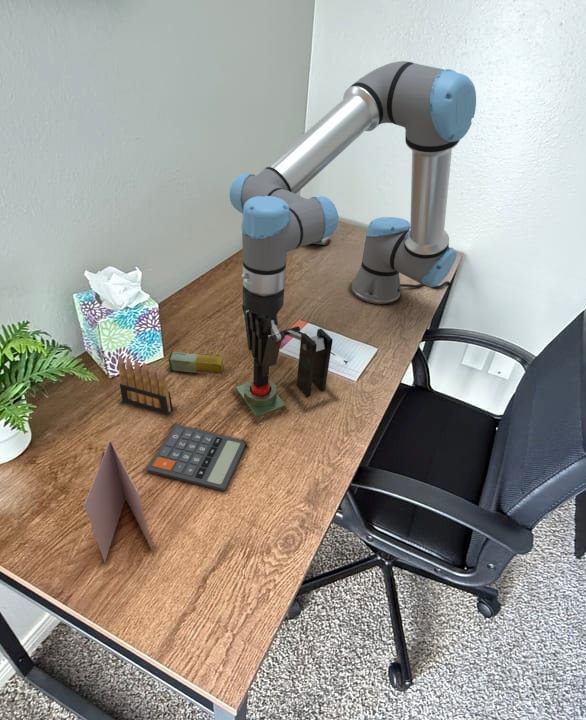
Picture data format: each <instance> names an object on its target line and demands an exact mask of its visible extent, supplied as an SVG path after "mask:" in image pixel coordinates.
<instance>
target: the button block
mask: <svg viewBox="0 0 586 720" xmlns="http://www.w3.org/2000/svg"><path fill="white" fill-rule="evenodd" d="M253 381H254V378H253V379H250V380H249V381H247V382H246V383H243V384H240V385H237V386H235V391H236V392H237V393H238V395H239V396H240V397H241V399H242V400H243V402H244V403H245V404H246V405H247V407H248V408H249V410H250V411H251V413H253V416H255V418H260V417H263V416H265V415H269V414H271V413H274V412H277V411H279V410H282V409H284V408H286V407H287V404H286V402H285V401H284V400H283V399H282V398H281V397H280V396H279V394H278V393H277V392H278V388H277V385H276V384H275V383H274V381H272V380H270V379H268V381H269V383H270V393H269V394H268V395H265V396H256V395H254V394H252V393H251V383H252V382H253Z"/></svg>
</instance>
